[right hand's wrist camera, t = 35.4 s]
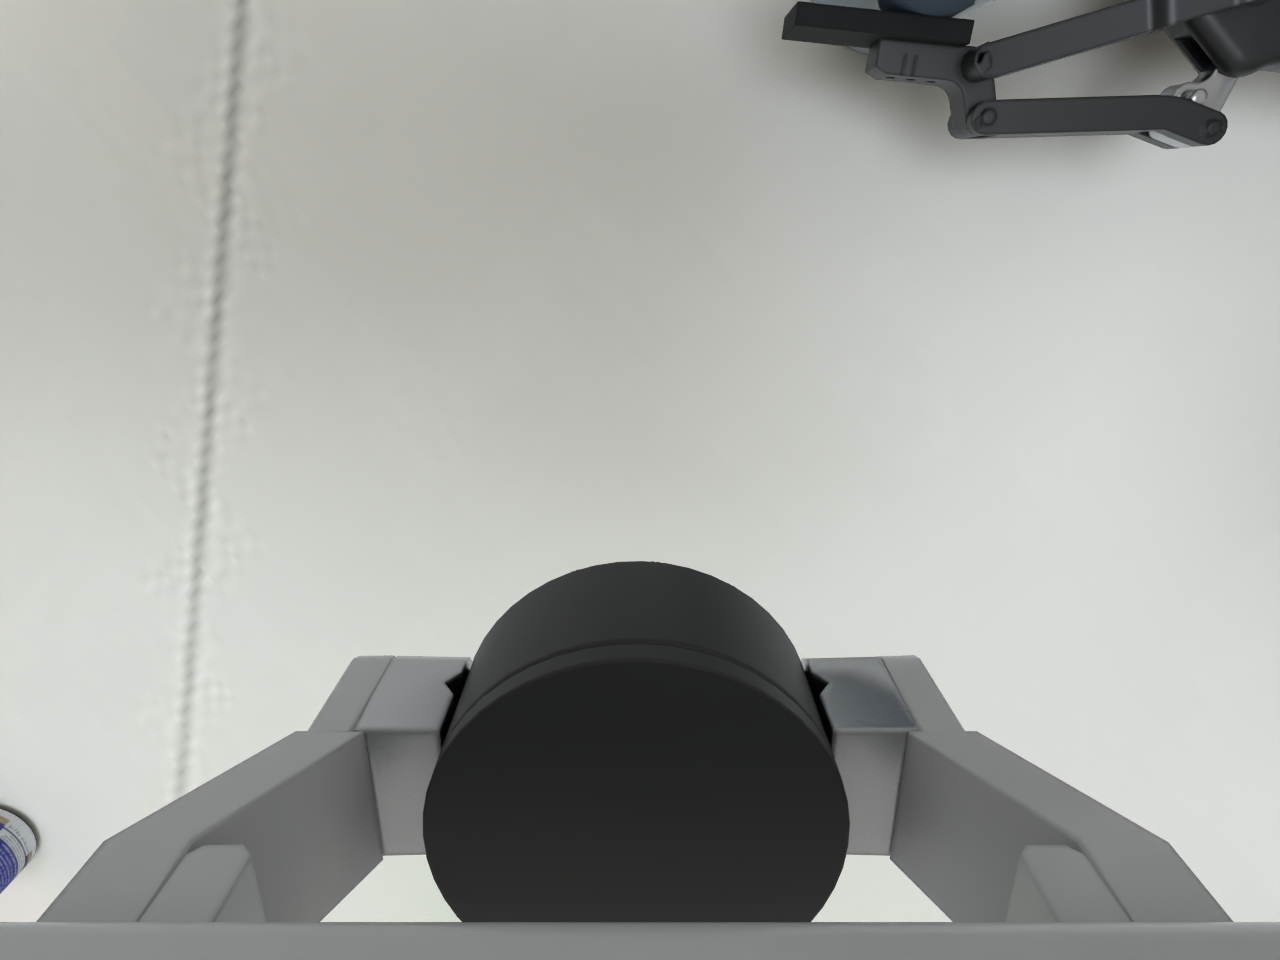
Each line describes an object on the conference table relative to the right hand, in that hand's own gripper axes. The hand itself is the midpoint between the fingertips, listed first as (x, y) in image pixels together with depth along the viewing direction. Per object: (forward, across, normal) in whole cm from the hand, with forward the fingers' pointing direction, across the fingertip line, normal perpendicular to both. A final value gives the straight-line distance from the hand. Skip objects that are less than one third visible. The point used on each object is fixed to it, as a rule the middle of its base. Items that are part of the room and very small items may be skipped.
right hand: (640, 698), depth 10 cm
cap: (-2, 0, 0) cm, 2 cm away
